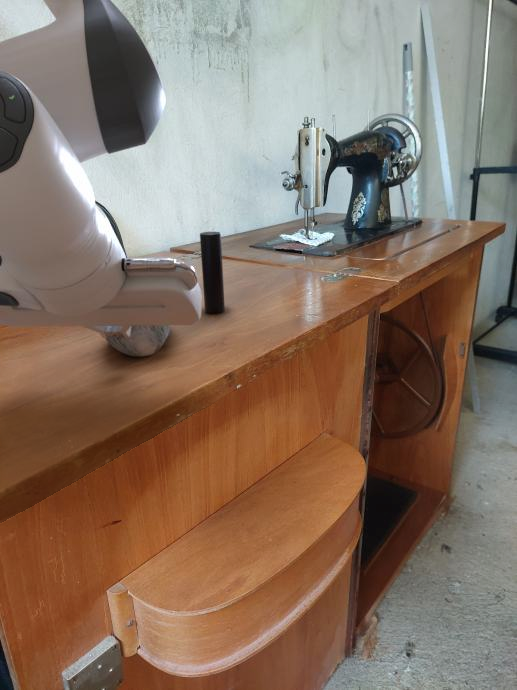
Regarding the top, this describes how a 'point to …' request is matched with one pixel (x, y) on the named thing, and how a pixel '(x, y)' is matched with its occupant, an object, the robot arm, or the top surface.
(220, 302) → the goal posts
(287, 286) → the top surface
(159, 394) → the top surface
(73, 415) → the top surface
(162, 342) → the grey streaked stone
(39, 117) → the robot arm
